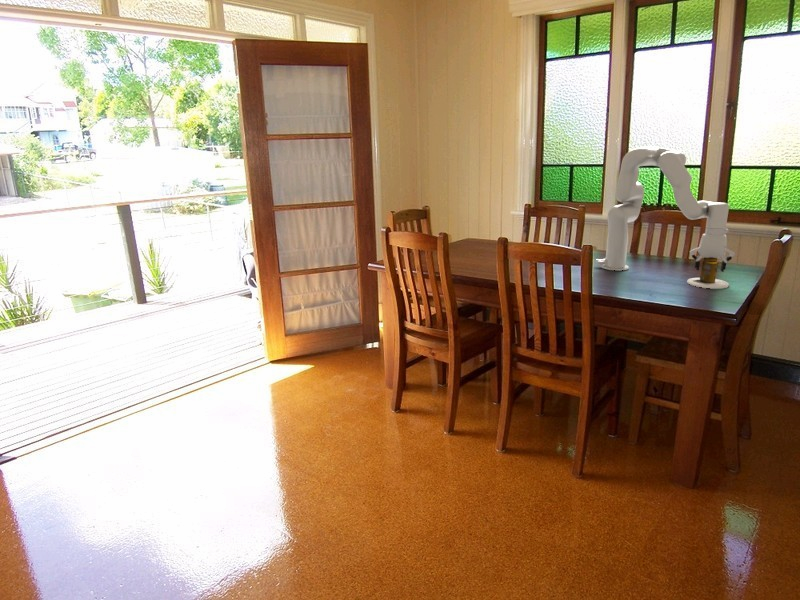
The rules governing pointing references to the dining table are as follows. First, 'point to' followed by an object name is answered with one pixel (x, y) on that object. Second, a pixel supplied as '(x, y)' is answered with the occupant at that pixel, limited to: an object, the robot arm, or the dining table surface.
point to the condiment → (708, 271)
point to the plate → (719, 285)
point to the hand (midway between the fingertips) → (709, 270)
